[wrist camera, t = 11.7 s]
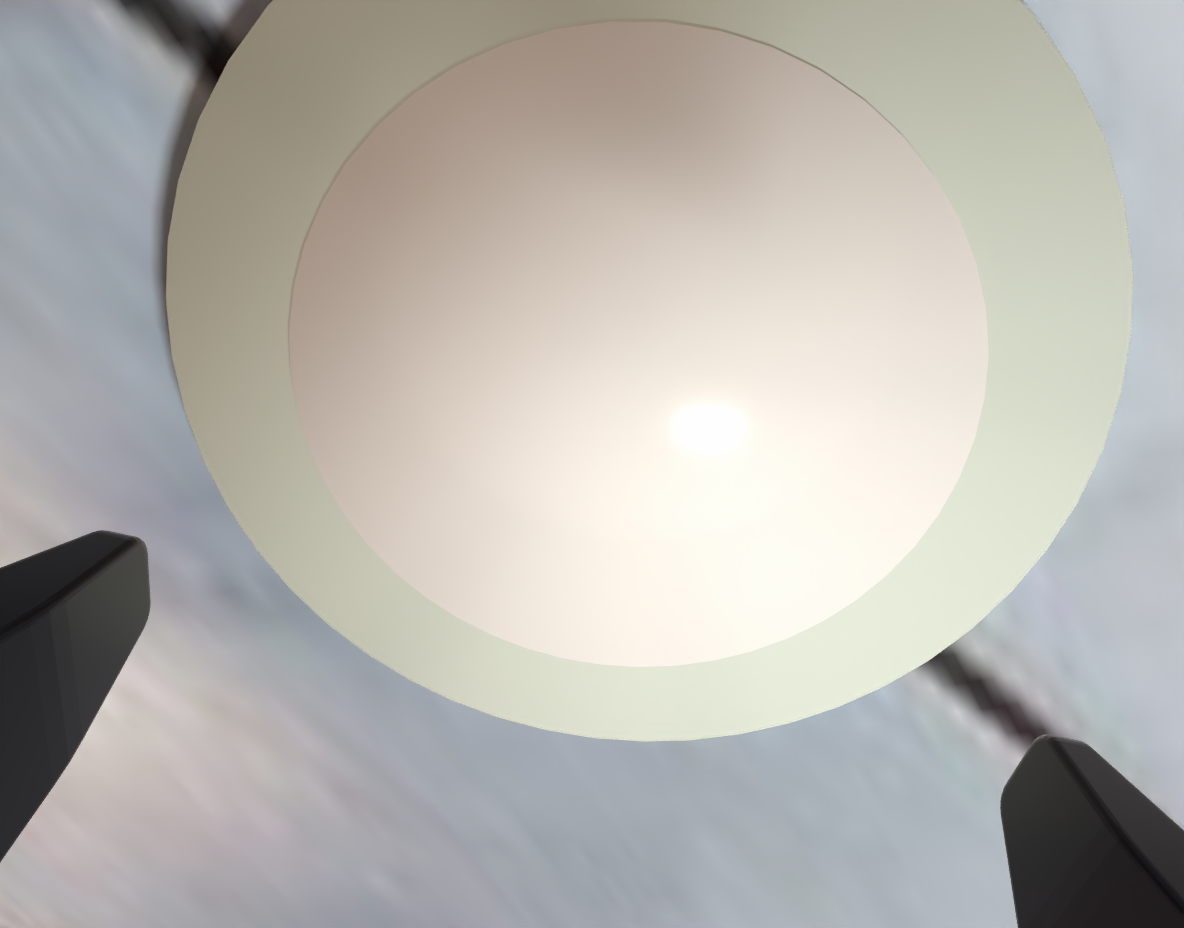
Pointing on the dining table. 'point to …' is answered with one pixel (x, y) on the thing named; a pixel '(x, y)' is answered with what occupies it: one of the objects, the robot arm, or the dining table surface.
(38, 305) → the dining table surface
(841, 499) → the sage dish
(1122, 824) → the robot arm
